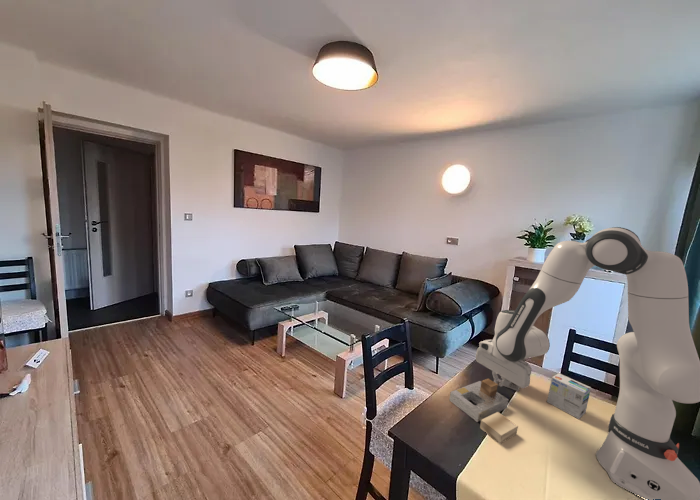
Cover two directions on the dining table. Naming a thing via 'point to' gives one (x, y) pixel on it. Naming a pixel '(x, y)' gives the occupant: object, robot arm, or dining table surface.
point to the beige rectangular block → (498, 427)
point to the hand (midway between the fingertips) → (498, 384)
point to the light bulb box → (569, 395)
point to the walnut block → (488, 387)
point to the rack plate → (477, 401)
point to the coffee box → (511, 384)
